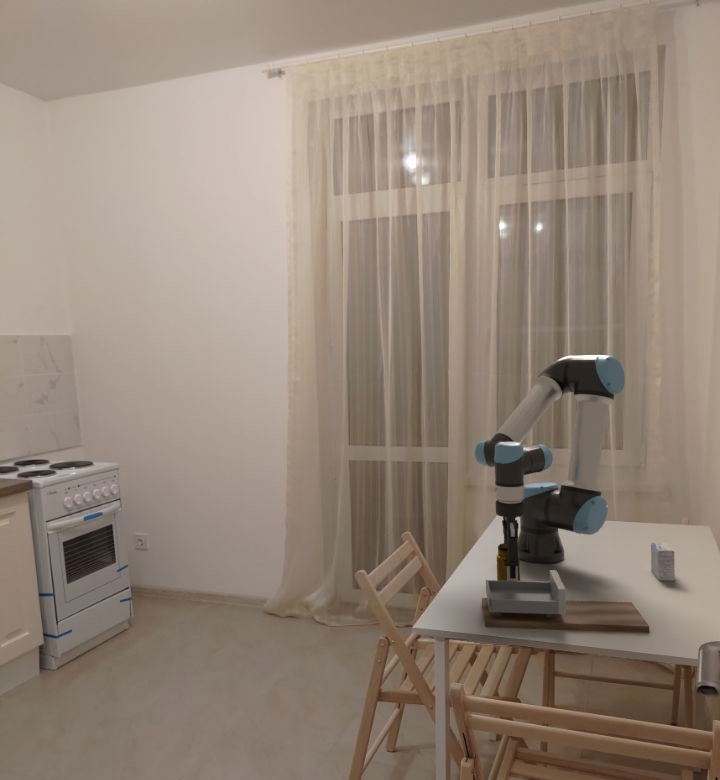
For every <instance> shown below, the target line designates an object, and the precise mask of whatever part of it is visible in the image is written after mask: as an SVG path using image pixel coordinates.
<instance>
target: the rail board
mask: <svg viewBox="0 0 720 780" xmlns="http://www.w3.org/2000/svg"><path fill="white" fill-rule="evenodd" d="M481 603H482V604H481V605H482V610H483V618H484V619H483V620H484V627H486V628H487V627H488V628H512V629H513V628H514V629H534V630H535V629H537V630H538V629H543V630H564V631H566V630H569V631H595V632H596V631H597V632H598V631H599V632H621V633H623V632H624V633H650V625H649V623H648V622H647V621H646V619H645V618H644V617H643V615H642V614H641V612H640V611H639V610H638V609H637V607H636V606H635V605H634V604H633V602H632V601H605V600H604V601H603V600H600V601H599V600H570V599H569V600H567V599H566V614H553V618H552V619H550V620H549V619H547V618H546V614H535V613H505V612H501V616H500V617H499V618H496V617H495V616H494V612H489V607H488V601H487V597H481Z"/></svg>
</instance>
